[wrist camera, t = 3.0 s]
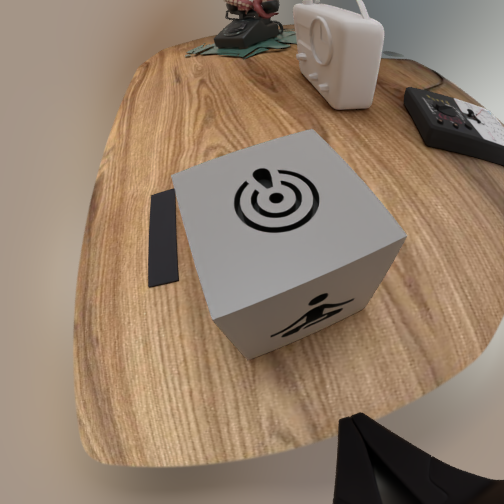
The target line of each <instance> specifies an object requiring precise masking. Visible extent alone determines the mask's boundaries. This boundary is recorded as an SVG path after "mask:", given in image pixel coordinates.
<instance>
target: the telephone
mask: <svg viewBox="0 0 504 504" xmlns="http://www.w3.org/2000/svg"><path fill="white" fill-rule="evenodd" d="M224 2H227V4H226V6H227V9H228V11H226V12H227V14H226V19H229V20H231V19H232V18H228V12H230V13H231V14H236V15H239V19H235V18H233V19H232V20H233V21H232V22H231V23H230V24H229V25H227V26H226V27H225V28H224V29H223V30H222V31H221V32H220V33H219V34H218V35H217V36H216V37H215V38H214V42H215V43H214V44H212V45H210V44H209V45H206V46H205V47H204V48H202V47H203V46H204V45H201V46H199V47H197V48H195V49H192V50H190V51H188V52H186V53H192V52H193V51H195V52H194V53H193V54H195V53H198V52H200V51H202V50H205V49H207V48H209V47H212V46H213V47H214V48H212V49H210V50H207V51H205V52H203V53H201V54H214V53H218V54H217V55H228V56H238V54H239V57H244V56H245V55H247V54H248V53H250V52H251V51H253V50H255V49H256V48H258V47H271V48H276V49H278V48H286V47H290V46H291V45H287V44H282V43H279V42H284V43H285V42H287V43H295V44H297V39H296V35H292V34H296V32H294V31H290V32H283V30H284V31H288V30H285V29H283V26H282V24H281V23H280V22H277V21H276V22H275V21H274V22H273V21H271V20H270V18H271V17H272V16H274V15H277V14H278V13H274V12H277V11H278V9H279V0H254V1H253V3H252V2H251V1H248V0H224ZM261 5H262V6H261ZM254 16H255V17H254ZM234 19H235V20H234ZM278 24H279V26H280V30H278ZM291 30H293V29H291ZM289 35H292V36H289ZM276 40H278V41H279V42H278V41H276ZM203 44H205V43H203ZM199 48H200V49H199ZM267 50H269V49H265V48H259V49H258V50H256V51H255V52H253V53H252V54H250V55H249V56H247V57H246V58H248V57H250V56H252V55H254V54H257V53H259V52H262V51H267ZM221 53H232V54H221ZM201 54H200V55H201ZM185 56H190V54H189V55H185ZM244 59H245V58H244Z"/></svg>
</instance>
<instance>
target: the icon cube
mask: <svg viewBox="0 0 504 504" xmlns="http://www.w3.org/2000/svg"><path fill="white" fill-rule="evenodd" d="M171 177H172V181H173V185H174V189H175V193H176V197H177V201H178V205H179V209H180V212H181V216H182V220H183V224H184V227H185V231H186V235H187V238H188V242H189V245H190V249H191V252H192V256H193V259H194V263H195V266H196V270H197V273H198V276H199V279H200V283H201V286H202V289H203V292H204V296H205V299H206V302H207V305H208V308H209V311H210V314H211V317H212V320H213V321H214V323H215V324H216V325H217V326H218V327H219V328H220V330H221V331H222V332H223V333H224V334H225V335H226V337H227V338H228V339H229V340H230V341H231V342H232V343H233V345H234V346H235V347H236V348H237V349H238V350H239V351H240V353H241V354H242V355H243V356H244V357H245V358H246V359H247V360H250V359H253V358H255V357H258V356H261V355H263V354H266V353H268V352H271V351H273V350H276V349H278V348H280V347H283V346H285V345H288V344H290V343H292V342H295V341H297V340H299V339H302V338H304V337H306V336H308V335H311V334H313V333H315V332H317V331H319V330H321V329H324V328H326V327H328V326H330V325H332V324H334V323H336V322H338V321H340V320H342V319H344V318H346V317H348V316H350V315H352V314H354V313H356V312H358V311H360V310H362V309H364V308H365V307H366V305H367V304H368V302H369V301H370V299H371V298H372V296H373V294H374V293H375V291H376V290H377V288H378V286H379V285H380V283H381V281H382V280H383V278H384V276H385V275H386V273H387V271H388V270H389V268H390V266H391V264H392V263H393V261H394V259H395V257H396V256H397V254H398V252H399V250H400V248H401V247H402V245H403V243H404V241H405V239H406V237H407V235H406V233H405V232H404V231H403V229H402V228H401V227H400V225H399V224H398V223H397V221H396V220H395V219H394V218H393V216H392V215H391V214H390V213H389V211H388V210H387V209H386V208H385V206H384V205H383V204H382V203H381V202H380V200H379V199H378V198H377V197H376V196H375V194H374V193H373V192H372V191H371V190H370V189H369V187H368V186H367V185H366V184H365V183H364V182H363V181H362V179H361V178H360V177H359V176H358V175H357V174H356V173H355V172H354V171H353V170H352V168H351V167H350V166H349V165H348V164H347V163H346V162H345V161H344V160H343V159H342V158H341V157H340V156H339V155H338V154H337V153H336V152H335V151H334V150H333V149H332V148H331V147H330V146H329V145H328V144H327V143H326V142H325V141H324V140H323V139H322V138H321V137H320V136H319V135H318V134H317V133H316V132H315V131H314V130H313V129H310V130H306V131H302V132H298V133H295V134H291V135H287V136H284V137H280V138H277V139H273V140H270V141H267V142H263V143H260V144H257V145H254V146H251V147H247V148H244V149H241V150H238V151H235V152H232V153H229V154H226V155H224V156H221V157H218V158H215V159H212V160H210V161H207V162H204V163H201V164H199V165H196V166H194V167H191V168H188V169H186V170H183V171H181V172H178V173H176V174H173V175H171Z"/></svg>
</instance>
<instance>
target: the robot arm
mask: <svg viewBox="0 0 504 504" xmlns="http://www.w3.org/2000/svg"><path fill="white" fill-rule="evenodd" d="M333 504H504V480H492V479H487V478H484V477H481V476H477V475H475V474H471V473H468V472H466V471H462V470H459V469H457V468H455V467H452V466H450V465H448V464H446V463H444V462H442V461H440V460H438V459H436V458H435V457H431V455H429V454H428V453H426V452H424V451H422V450H421V449H419V448H417V447H416V446H414V445H412V444H411V443H409V442H408V441H406V440H404V439H403V438H401V437H399V436H398V435H396V434H395V433H393V432H391V431H390V430H388V429H387V428H385V427H384V426H382V425H380V424H379V423H377V422H376V421H374V420H373V419H371V418H370V417H368V416H367V415H365V414H364V413H361V412H360V413H357V414H354V415H352V416H351V417H345V418H342V419H340V420H339V427H338V449H337V465H336V478H335V489H334V498H333Z"/></svg>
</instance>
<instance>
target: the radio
mask: <svg viewBox="0 0 504 504" xmlns="http://www.w3.org/2000/svg"><path fill="white" fill-rule="evenodd" d="M356 1H357V3H358V5H359V8H360V11H361V14H362V15H360V14H357V13H354V12H351V11H348V10H344V9H341V8H337V7H334V6H330V5H326V4H319V2H320V0H315V3H314V4H313V0H302V3H303V4H296V5H295V6H294V8H293V15H294V23H295V31H296V39H297V47H298V54H297V55H296V58H297V60H299V66H300V70H301V72H302V74H303V75H304V76H305V77H306V78H307V79H308V80H309V81H310V82H311V83H312V85H313V86H314V87H315V88H316V89H317V90H318V91H319V92H320V94H321V95H322V96H323V97H324V98H325V99H326V101H327V102H328V103H329V104H330V105H331V106H332V107H333V108H334V109H337V110H343V109H363V108H369V107H370V106H371V104H372V100H373V96H374V91H375V86H376V81H377V76H378V71H379V65H380V60H381V54H382V48H383V42H384V29H383V26H382V25H381V24H380V23H379V22H378V21H376V20H374V19H371V18H369V15H368V13H367V11H366V8H365V5H364V3H363V2H362V0H356Z"/></svg>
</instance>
